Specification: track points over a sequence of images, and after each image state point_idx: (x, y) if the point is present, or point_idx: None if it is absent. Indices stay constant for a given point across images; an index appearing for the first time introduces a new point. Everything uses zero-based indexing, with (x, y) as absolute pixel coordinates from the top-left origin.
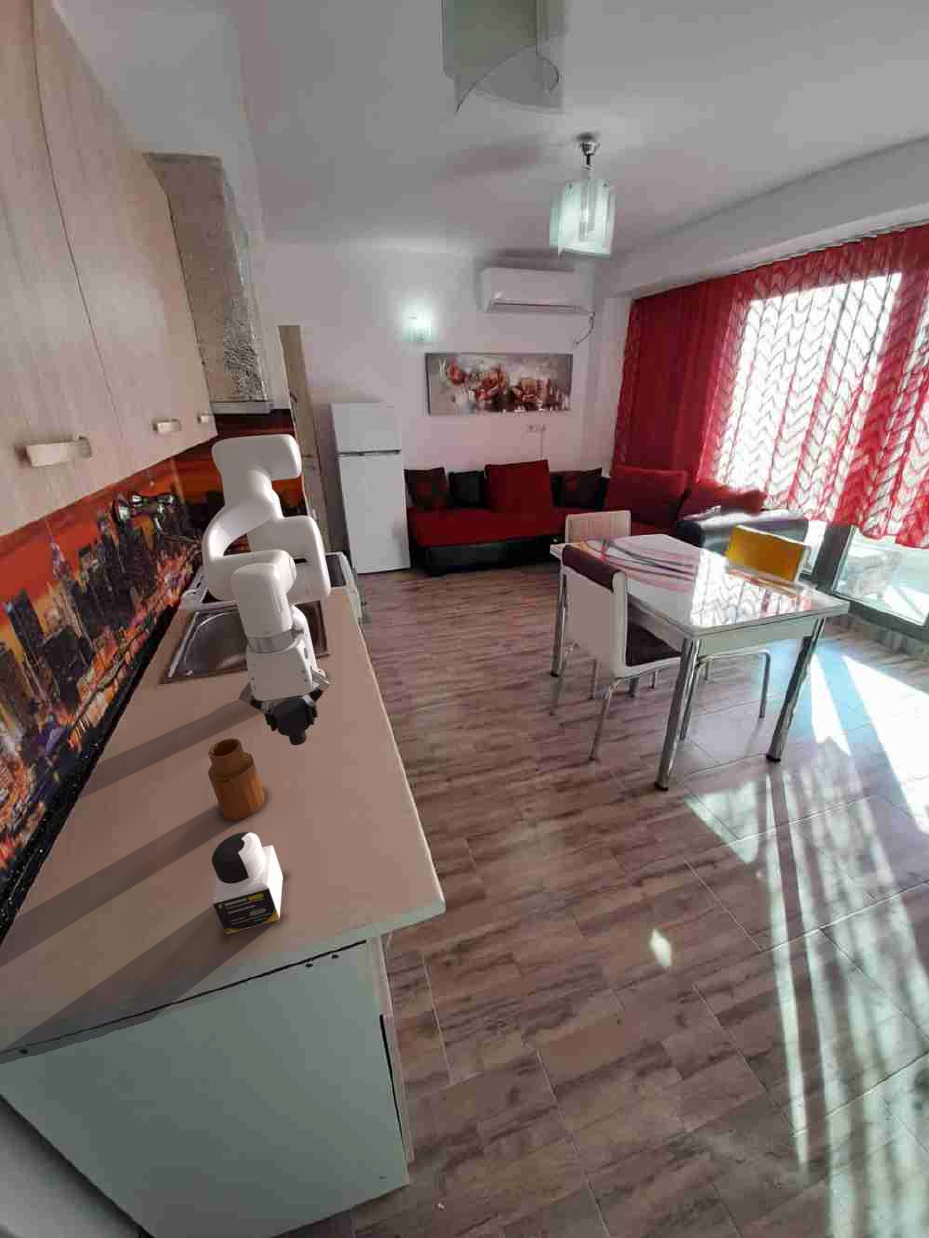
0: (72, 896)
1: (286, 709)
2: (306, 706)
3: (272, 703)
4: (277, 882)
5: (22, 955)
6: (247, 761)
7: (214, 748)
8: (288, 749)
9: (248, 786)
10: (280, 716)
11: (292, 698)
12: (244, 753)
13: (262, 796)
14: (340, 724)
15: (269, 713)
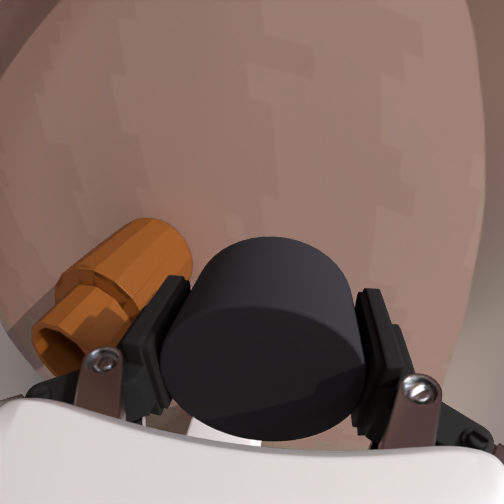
0: (28, 331)
1: (239, 397)
2: (358, 421)
3: (136, 344)
4: (257, 442)
5: (39, 370)
6: (132, 320)
7: (39, 336)
8: (220, 85)
9: None
10: (217, 425)
11: (265, 310)
12: (110, 283)
13: (188, 273)
14: (373, 17)
15: (156, 412)
